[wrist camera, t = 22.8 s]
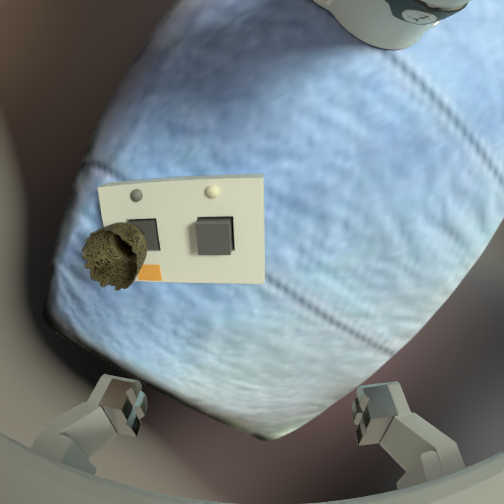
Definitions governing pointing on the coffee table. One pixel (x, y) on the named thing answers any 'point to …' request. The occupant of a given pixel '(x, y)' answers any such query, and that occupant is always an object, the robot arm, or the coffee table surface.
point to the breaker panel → (193, 224)
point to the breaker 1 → (148, 231)
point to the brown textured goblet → (115, 254)
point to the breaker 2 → (214, 235)
